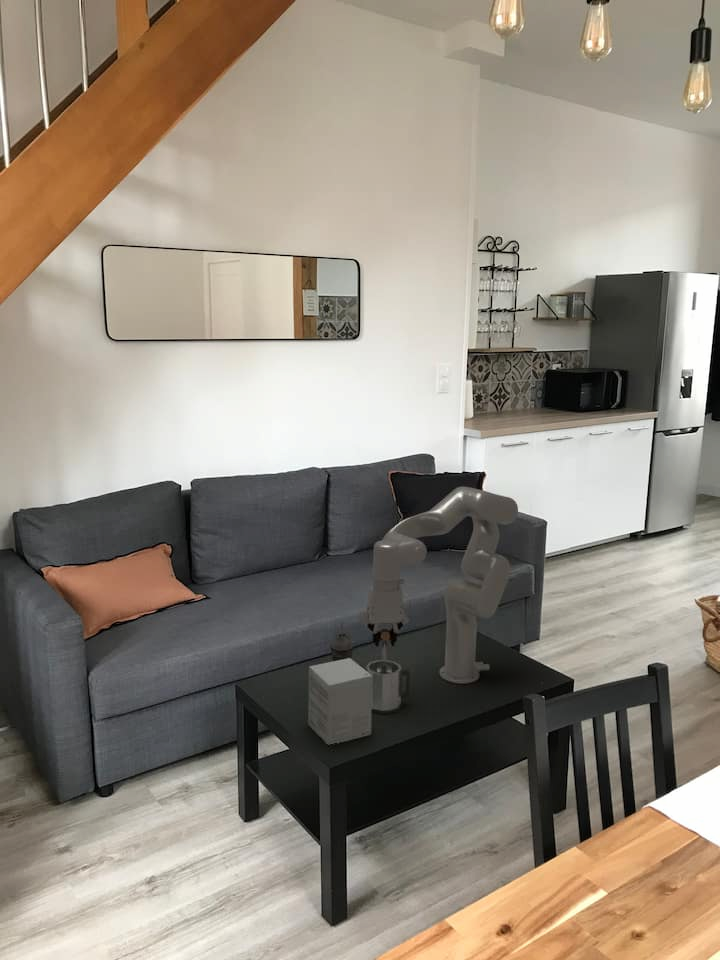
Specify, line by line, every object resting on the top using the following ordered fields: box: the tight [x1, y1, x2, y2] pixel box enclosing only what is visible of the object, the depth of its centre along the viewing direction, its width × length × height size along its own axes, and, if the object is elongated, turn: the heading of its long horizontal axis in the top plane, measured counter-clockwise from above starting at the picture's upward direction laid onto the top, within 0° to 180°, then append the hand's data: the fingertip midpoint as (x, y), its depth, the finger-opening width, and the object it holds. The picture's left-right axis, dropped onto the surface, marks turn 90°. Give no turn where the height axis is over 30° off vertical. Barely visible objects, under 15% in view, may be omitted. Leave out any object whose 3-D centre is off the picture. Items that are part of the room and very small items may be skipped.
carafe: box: [365, 659, 411, 715], centre depth 227 cm, size 13×10×12 cm
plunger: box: [378, 627, 392, 674], centre depth 225 cm, size 8×8×16 cm
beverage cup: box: [330, 621, 355, 662], centre depth 241 cm, size 7×7×20 cm
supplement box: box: [307, 658, 372, 746], centre depth 212 cm, size 13×13×18 cm
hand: (384, 643), depth 224 cm, fingers closed on plunger, 4 cm apart
